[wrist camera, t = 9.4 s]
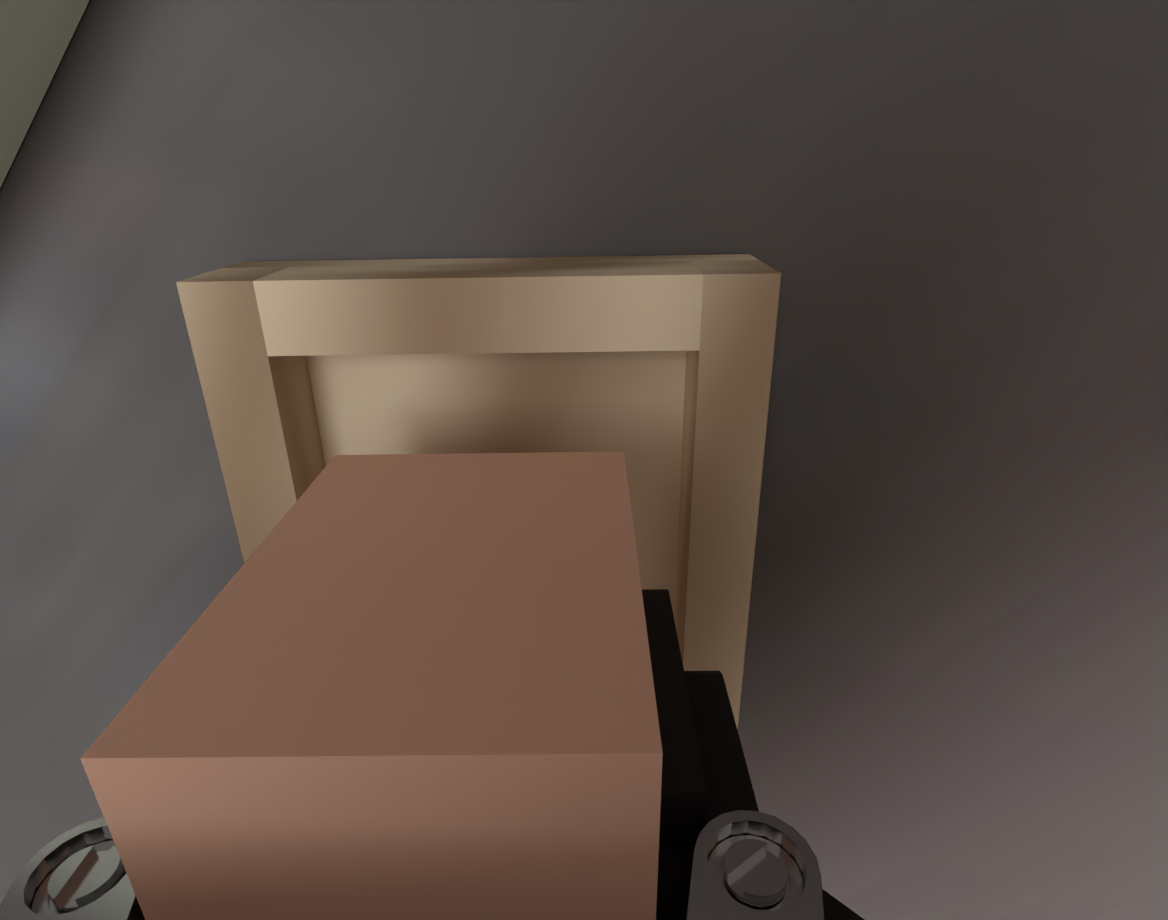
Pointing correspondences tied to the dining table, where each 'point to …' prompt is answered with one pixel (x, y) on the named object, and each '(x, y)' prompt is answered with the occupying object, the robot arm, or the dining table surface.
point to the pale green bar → (29, 62)
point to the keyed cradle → (511, 393)
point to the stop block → (406, 708)
